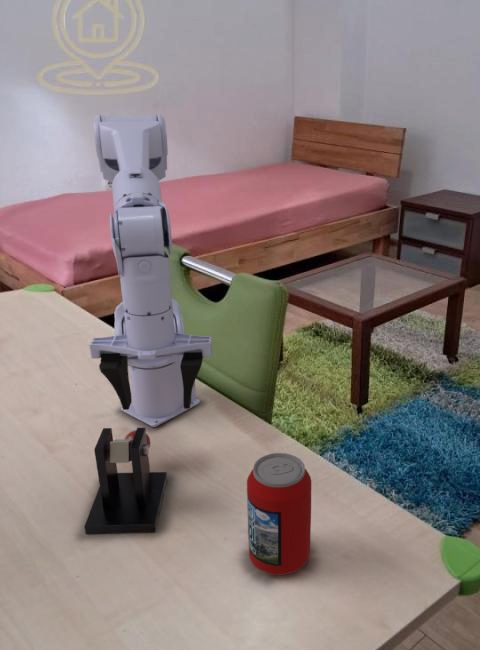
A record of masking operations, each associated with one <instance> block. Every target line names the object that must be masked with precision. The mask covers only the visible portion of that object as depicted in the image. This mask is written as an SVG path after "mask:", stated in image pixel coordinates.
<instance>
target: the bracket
mask: <svg viewBox="0 0 480 650" xmlns="http://www.w3.org/2000/svg"><path fill="white" fill-rule="evenodd" d="M135 430H136V433H135V436H134V439H133V442H132V445H131V448H130V452H131V460H132V461H131V468H132V472H118V466H117V463H110V442H112V441H114V437H113V430H112V427H103V428H102V430H101V433H100V435H99V437H98V440H97V442H96V444H95V446H94V457H95V463H96V470H97V477H98V478H97V479H98V485H99V487H98V489H97V492H96V495H95V497H94V500H93V503H92V505H91V507H90V510H89V513H88V516H87V519H86V520H85V524H84V532H85V535H102V534H104V535H105V534H106V535H107V534H141V533H156V531H157V527H158V522H159V518H160V515H161V514H160V513H161V509H162V505H163V502H164V501H163V500H164V496H165V492H166V487H167V484H168V483H167V482H168V471H151V468H150V460H149V459H150V458H149V457H150V456H149V454H150V447H149V445H148V444H147V439H146V433H147V432H146V427H137V428H136V429H135Z"/></svg>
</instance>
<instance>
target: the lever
mask: <svg viewBox="0 0 480 650" xmlns="http://www.w3.org/2000/svg"><path fill="white" fill-rule="evenodd" d="M136 430H137V429H134V430H132V431H130V432H128V433H127V434H126V436H125V437H124V438H123V439H113V441H112V442H110V463H116V464H119V463H121V464H124V463H126V464H127V463H131V462H132V460H131V452H130V448H131V445H132V442H133V439H134V436H135V433H136ZM146 439H147V444H148V445H149V448H150V447H151V438H150V436H149V434H148V433H147V432H146Z"/></svg>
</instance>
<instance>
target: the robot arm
mask: <svg viewBox="0 0 480 650" xmlns="http://www.w3.org/2000/svg"><path fill="white" fill-rule="evenodd" d="M92 122H93V123H92V124H93V126H92V127H93V136H94V144H95V152H96V156H97V159H98V165H99V170H100V172H101V173H102V178H103V180H105V181H107V182H108V183H111V185H112V186H111V187H112V188H111V189H112V190H111V191H112V205H113V206H112V207H113V212H110V213H109V229H110V240H111V246H112V251H113V254H114V259H115V262H116V267H117V274H118V275H119V280H120V281H119V282H120V289H121V298H122V301H121V302H120V303H119V304H118V305H117V306H116V307H115V310H114V312H113V313H114V325H113V326H114V335H112V336H102V337H101V336H100V337H92V339H91V341H90V343H89V350H90V351H89V352H90V358H91V359H100V362H99V365H98V368H99V371H100V373H101V374H102V375H103V376H104V377H105V378H106V379H107V381H108V382H109V383H110V384H111V386H112V388H113V389H114V392H115V393H116V395H117V396H118V399H119V402H120V404H121V408H120V411H122V412H123V413H125V414H127V415H129V416H131V417H133V418H135V419H136V420H138V421H140V422H142V423H144V424H145V425H148V426H150V427H151V428H156V427H158V426H160V425H162V424H164V423H166V422H168V421H169V420H172V419H173V418H176V417H177V416H178V415H181V414H182V413H184V412H186V411H188V410H190V409H191V408H194V407H196V406H197V405H199V404H200V403H201V400H200V399H199V398H197V390H196V389H197V388H196V379H197V376H198V374H199V372H200V370H201V367H202V364H203V359H204V358H212V354H213V340H212V336H211V335H210V336H209V335H208V336H206V335H194V334H188V333H185V322H184V318H183V315H182V307H181V305H180V303H179V302H178V301H177V300H176V299H174V298H173V296H172V295H173V294H172V283H171V282H172V281H171V269H170V268H171V267H170V257H169V256H171V254H172V249H173V237H172V227H171V219H170V214H169V211H168V208H167V205H166V202H165V201H163V198H162V190H161V189H162V188H161V185H160V181H161V180H162V179H165V178H166V176H167V175H166V174H167V173H166V171H167V170H168V152H169V151H168V135H167V125H166V118H165V117H164V116H163V115H162V114H161V113H156V114H141V115H140V114H139V115H138V114H136V115H135V114H134V115H133V114H130V115H128V114H127V115H101V114H96V115H95V117H94V118H93V119H92ZM165 249H166V250H167V251H168V253H167V252H166V251H165Z"/></svg>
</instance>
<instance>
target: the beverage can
mask: <svg viewBox="0 0 480 650" xmlns="http://www.w3.org/2000/svg"><path fill="white" fill-rule="evenodd" d="M246 504H247V505H246V506H247V507H246V508H247V536H248V555H249V559H250V561H251V563H252V564H253V565H254V566H255V567H256V568H257V569H259V570H260V571H262V572H263V573H267V574H270V575H279V576H280V575H288V574H292V573H294V572H296V571H298V570H300V569H301V568H303V567H304V566H305V565H306V564H307V562H308V560H309V558H310V554H311V528H312V478H311V475H310V473H309V472H308V470H307V469H306V467H305V463H304V462H303V460H301V459H300V458H299V457H297V456H296V455H293V454H290V453H285V452H275V453H269V454H266V455H264V456H261V457H260V458H258V459H257V460H256V462H254V464H253V467H252V470H251V471H250V473H249V474H248V476H247V480H246Z"/></svg>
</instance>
